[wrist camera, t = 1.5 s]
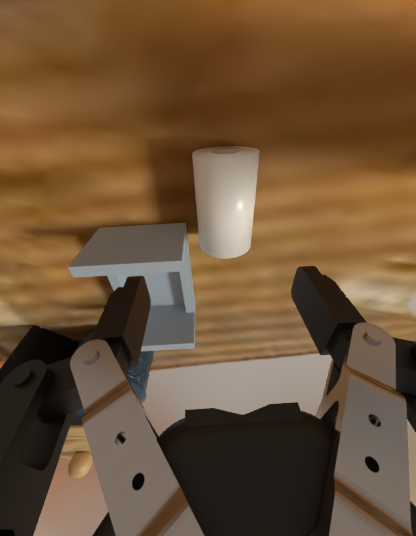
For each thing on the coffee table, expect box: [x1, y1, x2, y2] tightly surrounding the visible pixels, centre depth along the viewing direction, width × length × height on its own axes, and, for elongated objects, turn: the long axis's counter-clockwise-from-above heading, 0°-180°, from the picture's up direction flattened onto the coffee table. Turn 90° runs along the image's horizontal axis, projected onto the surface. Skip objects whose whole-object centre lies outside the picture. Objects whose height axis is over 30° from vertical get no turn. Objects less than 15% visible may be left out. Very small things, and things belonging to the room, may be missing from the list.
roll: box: [192, 146, 260, 258], centre depth 20 cm, size 9×6×6 cm, turn 2°
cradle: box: [68, 223, 195, 351], centre depth 26 cm, size 10×14×8 cm
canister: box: [60, 328, 153, 478], centre depth 32 cm, size 13×13×18 cm
